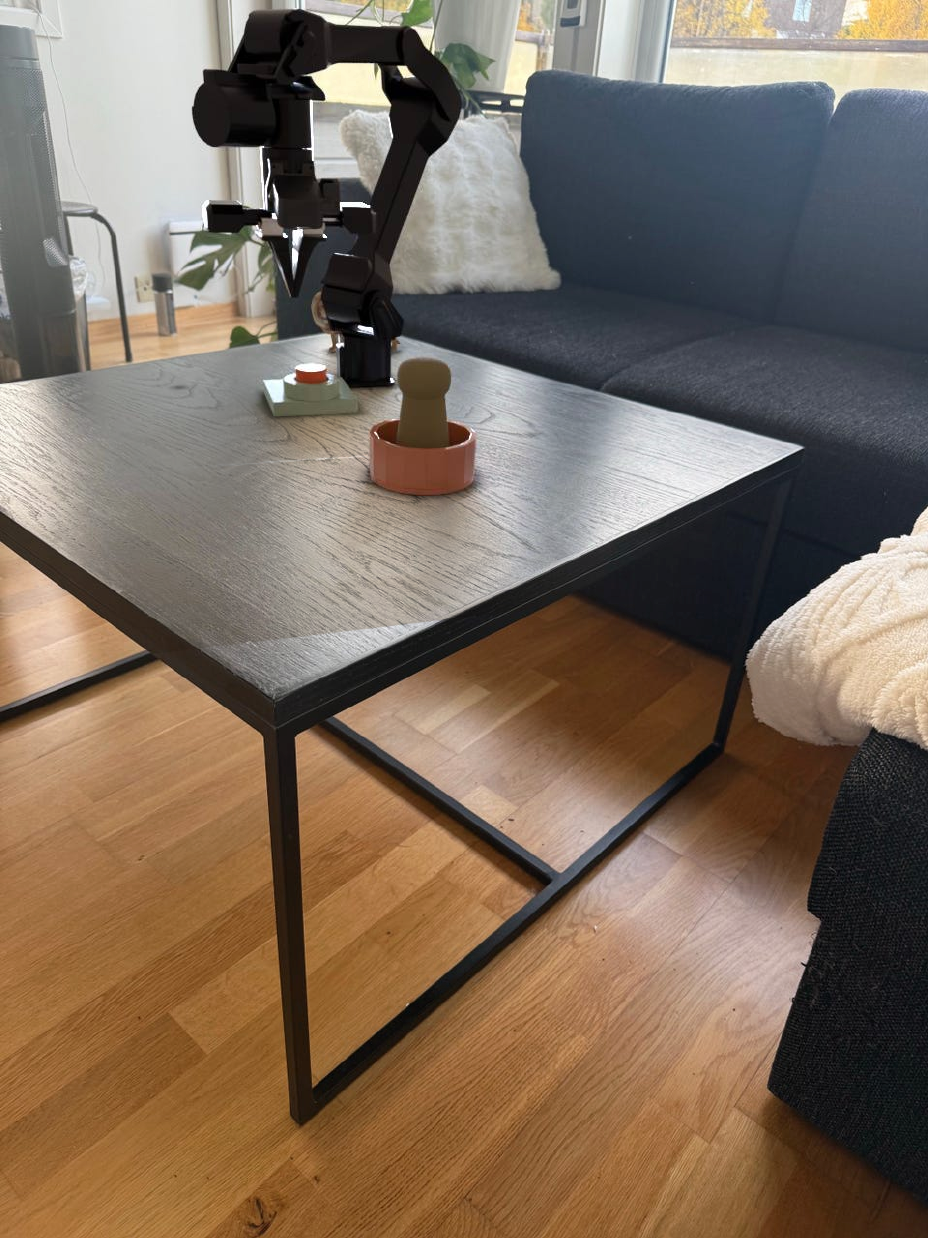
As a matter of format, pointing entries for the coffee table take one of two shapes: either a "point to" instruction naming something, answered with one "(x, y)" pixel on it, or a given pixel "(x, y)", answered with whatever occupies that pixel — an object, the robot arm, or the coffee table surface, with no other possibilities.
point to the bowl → (422, 461)
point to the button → (311, 373)
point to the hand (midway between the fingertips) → (294, 297)
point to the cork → (423, 403)
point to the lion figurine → (323, 323)
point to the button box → (309, 396)
